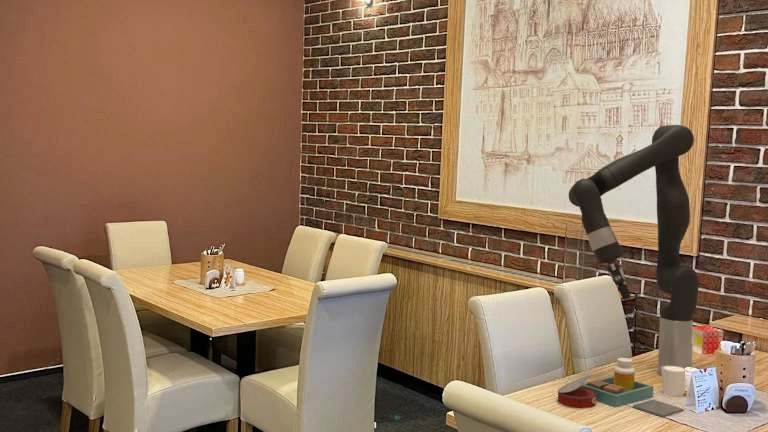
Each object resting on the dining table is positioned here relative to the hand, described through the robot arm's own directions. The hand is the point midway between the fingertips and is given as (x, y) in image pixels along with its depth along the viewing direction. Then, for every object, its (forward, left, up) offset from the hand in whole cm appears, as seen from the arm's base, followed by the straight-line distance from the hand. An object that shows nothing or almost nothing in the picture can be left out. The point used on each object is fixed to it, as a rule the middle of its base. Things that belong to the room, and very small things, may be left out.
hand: (627, 298), depth 211 cm
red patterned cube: (-59, -11, -26) cm, 65 cm away
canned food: (+22, +2, -26) cm, 34 cm away
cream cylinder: (-7, +11, -26) cm, 29 cm away
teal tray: (+9, +4, -25) cm, 27 cm away
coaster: (+9, +17, -25) cm, 32 cm away
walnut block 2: (+13, +7, -26) cm, 30 cm away
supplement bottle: (+6, +4, -26) cm, 27 cm away
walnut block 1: (+14, +2, -26) cm, 29 cm away
